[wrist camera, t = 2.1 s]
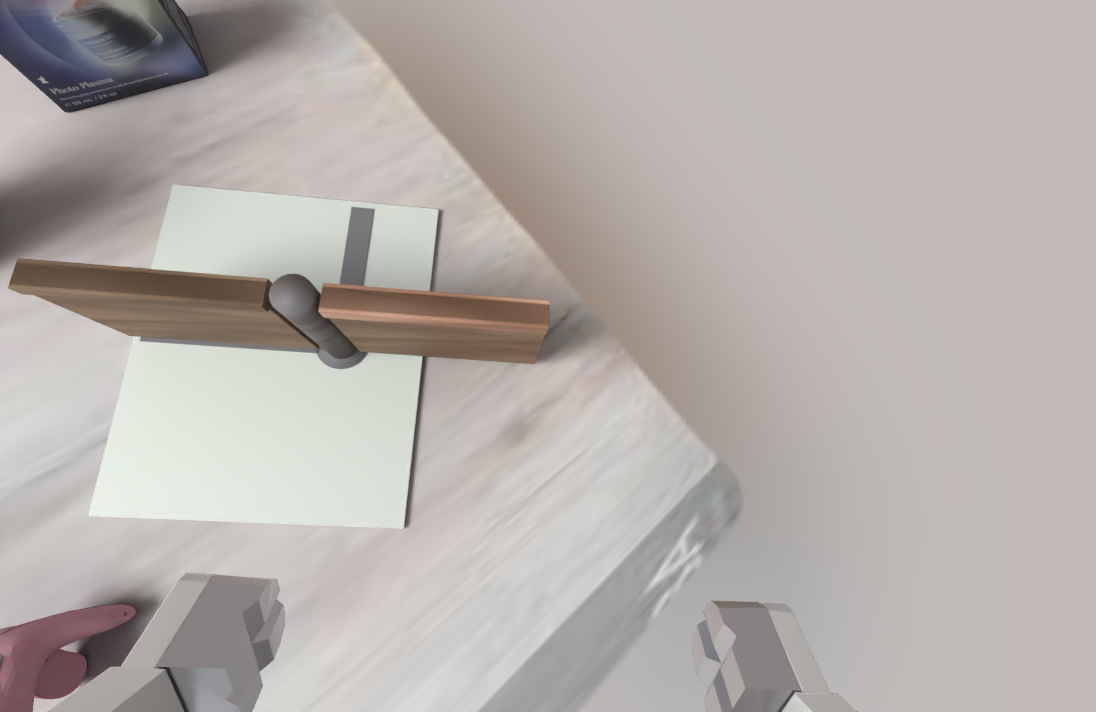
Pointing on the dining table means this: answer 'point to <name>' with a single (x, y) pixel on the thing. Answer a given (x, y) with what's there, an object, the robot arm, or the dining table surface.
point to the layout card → (271, 376)
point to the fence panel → (437, 323)
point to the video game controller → (50, 654)
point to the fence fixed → (187, 304)
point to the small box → (99, 47)
